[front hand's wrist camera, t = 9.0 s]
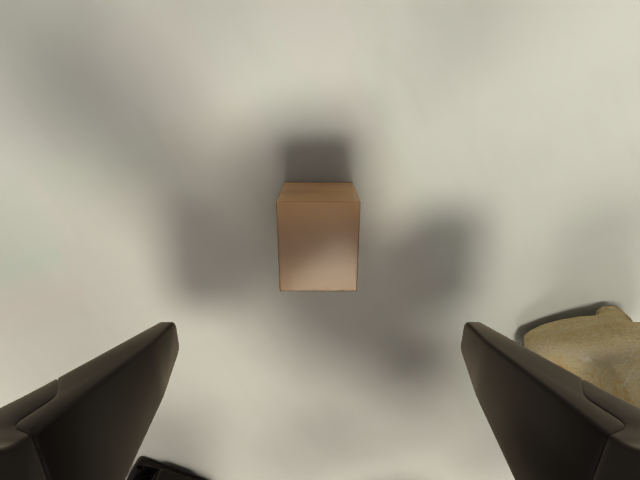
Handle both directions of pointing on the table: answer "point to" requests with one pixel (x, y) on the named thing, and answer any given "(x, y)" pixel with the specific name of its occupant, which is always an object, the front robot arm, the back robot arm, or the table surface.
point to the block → (318, 236)
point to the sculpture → (594, 350)
